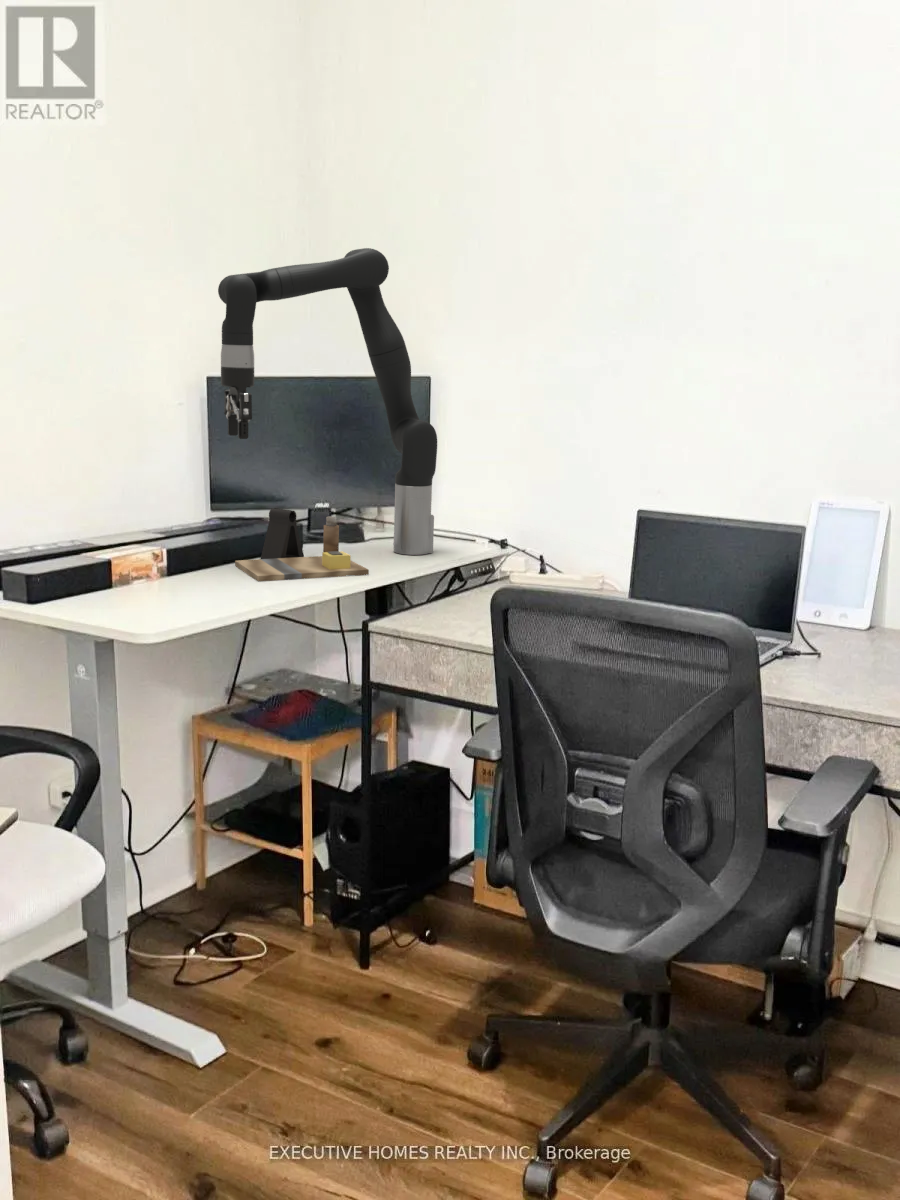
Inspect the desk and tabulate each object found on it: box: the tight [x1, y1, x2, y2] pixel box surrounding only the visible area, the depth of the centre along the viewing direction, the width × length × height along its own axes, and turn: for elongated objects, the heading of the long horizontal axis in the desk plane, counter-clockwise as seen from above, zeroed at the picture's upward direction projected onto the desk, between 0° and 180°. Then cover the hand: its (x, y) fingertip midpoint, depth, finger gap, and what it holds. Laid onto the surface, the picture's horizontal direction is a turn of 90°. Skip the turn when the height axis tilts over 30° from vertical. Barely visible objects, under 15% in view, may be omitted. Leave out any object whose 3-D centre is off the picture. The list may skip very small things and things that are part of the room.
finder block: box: [321, 550, 352, 569], centre depth 267 cm, size 5×5×3 cm
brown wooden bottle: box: [322, 515, 340, 552], centre depth 275 cm, size 4×4×10 cm
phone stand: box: [260, 507, 305, 559], centre depth 279 cm, size 9×6×12 cm, turn 148°
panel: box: [234, 555, 370, 582], centre depth 268 cm, size 26×18×1 cm
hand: (237, 437), depth 269 cm, fingers open, 8 cm apart
